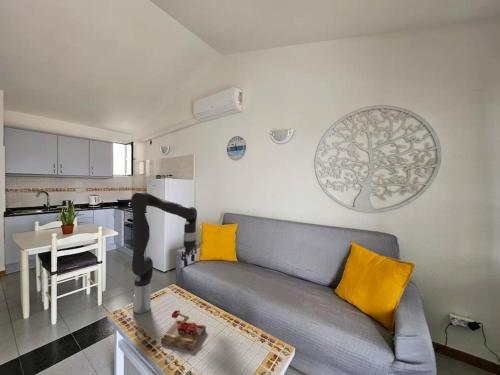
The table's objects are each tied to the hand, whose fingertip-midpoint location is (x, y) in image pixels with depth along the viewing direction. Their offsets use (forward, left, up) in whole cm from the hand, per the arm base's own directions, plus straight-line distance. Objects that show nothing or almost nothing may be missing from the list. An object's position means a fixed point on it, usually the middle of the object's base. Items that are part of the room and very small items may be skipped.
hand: (189, 263), depth 132 cm
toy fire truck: (+10, -21, -27) cm, 36 cm away
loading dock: (+10, -21, -30) cm, 38 cm away
